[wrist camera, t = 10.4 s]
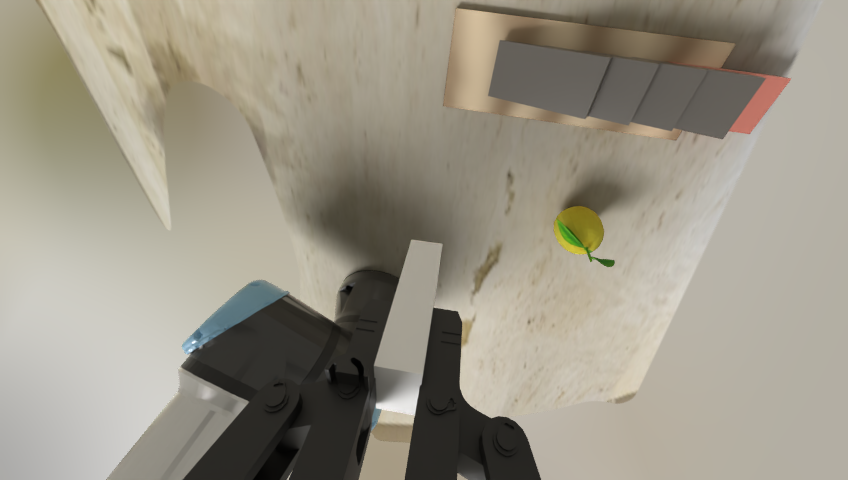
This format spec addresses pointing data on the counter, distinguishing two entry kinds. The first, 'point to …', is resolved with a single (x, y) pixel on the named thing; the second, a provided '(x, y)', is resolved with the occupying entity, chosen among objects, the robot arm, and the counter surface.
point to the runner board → (484, 31)
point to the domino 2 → (621, 88)
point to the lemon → (580, 232)
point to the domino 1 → (548, 77)
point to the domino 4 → (717, 101)
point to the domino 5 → (755, 99)
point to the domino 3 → (667, 94)
